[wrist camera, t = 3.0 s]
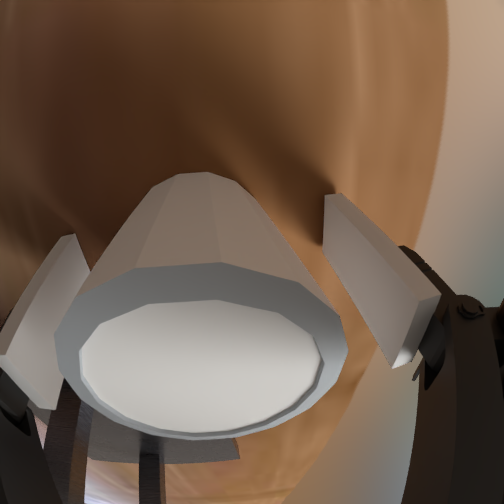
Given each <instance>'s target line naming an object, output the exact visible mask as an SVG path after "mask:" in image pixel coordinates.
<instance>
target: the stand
mask: <svg viewBox="0 0 504 504" xmlns="http://www.w3.org/2000/svg"><path fill="white" fill-rule="evenodd" d="M27 406H28V407H29V408H30V409H31V410H32V412H33V414H34V415H36V416H37V417H38V418H39V419H40V420H41V421H42V422H44V423H45V424H46V425H47V426H48V427H47V432H46V437H45V443H44V448H43V452H44V455H45V458H46V461H47V464H48V467H49V470H50V473H51V475H52V478H53V481H54V483H55V486H56V489H57V491H58V493H59V496H60V498H61V500H62V503H63V504H84V494H85V477H86V465H87V456H88V457H90V458H91V459H93V460H100V461H110V462H122V463H139V504H166V491H165V466H164V464H183V463H202V462H215V461H225V460H234V459H240V456H239V449H238V445H237V442H236V440H235V438H223V439H210V440H186V439H177V438H169V437H162V436H156V435H151V434H148V433H145V432H142V431H139V430H136V429H133V428H130V427H127V426H125V425H122V424H119V423H117V422H114V421H112V420H111V419H109V418H108V417H106V416H104V415H103V414H101V413H100V412H98V411H97V410H95V409H94V408H93V407H91V406H90V405H88V404H87V403H85V402H84V401H83V400H81V399H80V398H79V396H78V395H77V394H76V392H75V391H74V390H73V389H72V387H71V386H70V385H69V383H68V382H67V380H66V379H65V378H64V379H63V383H62V387H61V390H60V394H59V398H58V402H57V406H56V410H51V409H43V408H39V407H38V406H37V405H36V404H35V403H33V402H32V401H31V400H30V399H29V401H28V404H27Z"/></svg>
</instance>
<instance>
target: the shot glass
mask: <svg viewBox="0 0 504 504" xmlns="http://www.w3.org/2000/svg"><path fill="white" fill-rule="evenodd" d="M54 340H55V348H56V355H57V361H58V368H59V371H60V372H61V374H62V375H63V376H64V378H65V379H66V380H67V382H68V383H69V385H70V386H71V387H72V389H73V390H74V391H75V392H76V394H77V395H78V396H79V398H80V399H81V400H83V401H84V402H85V403H87V404H88V405H90V406H91V407H93V408H94V409H95V410H97V411H98V412H100V413H101V414H103V415H104V416H106V417H108V418H109V419H111V420H112V421H114V422H117V423H119V424H122V425H125V426H127V427H130V428H133V429H136V430H139V431H142V432H145V433H148V434H151V435H156V436H162V437H169V438H177V439H186V440H210V439H223V438H235V437H239V436H243V435H247V434H251V433H255V432H258V431H262V430H265V429H269V428H272V427H275V426H277V425H279V424H281V423H283V422H285V421H287V420H289V419H291V418H293V417H294V416H296V415H298V414H300V413H302V412H304V411H305V410H307V409H309V408H310V407H311V406H313V405H314V404H315V403H316V402H317V401H318V400H319V399H320V398H321V397H322V396H323V395H324V394H325V393H326V392H327V391H328V390H329V389H330V388H331V387H332V386H333V385H334V384H335V383H336V381H337V379H338V376H339V374H340V371H341V369H342V366H343V364H344V361H345V359H346V356H347V354H348V347H347V343H346V339H345V335H344V331H343V327H342V323H341V319H340V316H339V314H338V313H337V311H336V310H335V308H334V307H333V305H332V304H331V303H330V301H329V300H328V298H327V297H326V295H325V294H324V293H323V291H322V290H321V288H320V287H319V285H318V284H317V283H316V281H315V280H314V278H313V277H312V276H311V274H310V273H309V271H308V270H307V268H306V267H305V266H304V264H303V263H302V262H301V260H300V259H299V257H298V256H297V255H296V253H295V252H294V250H293V249H292V248H291V246H290V245H289V243H288V242H287V241H286V239H285V238H284V237H283V235H282V234H281V233H280V231H279V230H278V228H277V227H276V226H275V224H274V223H273V222H272V220H271V219H270V218H269V216H268V215H267V214H266V212H265V211H264V210H263V208H262V207H261V206H260V204H259V203H258V202H257V200H256V199H255V198H254V197H253V196H252V195H251V194H249V193H248V192H247V191H246V190H245V189H244V188H243V187H242V186H240V185H239V184H238V183H237V182H236V181H234V180H231V179H228V178H225V177H222V176H219V175H216V174H213V173H210V172H198V173H184V174H177V175H175V176H173V177H171V178H169V179H167V180H165V181H163V182H161V183H159V184H157V185H156V186H154V187H152V188H151V190H150V191H149V192H148V193H147V194H146V196H145V197H144V198H143V199H142V201H141V202H140V203H139V204H138V206H137V207H136V208H135V210H134V211H133V212H132V214H131V215H130V216H129V218H128V219H127V220H126V222H125V223H124V224H123V226H122V227H121V228H120V230H119V231H118V233H117V234H116V235H115V237H114V238H113V240H112V241H111V242H110V244H109V245H108V247H107V248H106V250H105V251H104V253H103V254H102V256H101V257H100V259H99V260H98V262H97V263H96V265H95V266H94V268H93V269H92V271H91V272H90V274H89V275H88V277H87V278H86V280H85V282H84V283H83V285H82V286H81V288H80V290H79V291H78V293H77V295H76V296H75V298H74V300H73V301H72V303H71V305H70V306H69V308H68V310H67V311H66V313H65V315H64V317H63V319H62V320H61V322H60V324H59V326H58V328H57V329H56V331H55V333H54Z"/></svg>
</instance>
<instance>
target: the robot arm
mask: <svg viewBox="0 0 504 504" xmlns="http://www.w3.org/2000/svg"><path fill="white" fill-rule="evenodd" d="M322 252H323V254H324V255H325V257H326V258H327V260H328V262H329V263H330V265H331V266H332V268H333V269H334V271H335V273H336V274H337V276H338V277H339V279H340V281H341V282H342V284H343V286H344V287H345V289H346V290H347V292H348V294H349V295H350V297H351V299H352V300H353V302H354V304H355V305H356V307H357V309H358V310H359V312H360V314H361V315H362V317H363V319H364V321H365V322H366V324H367V326H368V327H369V329H370V331H371V333H372V334H373V336H374V338H375V340H376V341H377V343H378V345H379V347H380V348H381V350H382V352H383V354H384V355H385V357H386V359H387V361H388V363H389V365H390V366H391V368H392V369H393V368H395V367H398V366H401V365H404V364H406V363H409V362H412V360H413V358H414V356H415V354H416V352H417V350H418V349H419V351H420V353H421V354H422V355H423V358H422V361H421V362H420V364H419V366H418V368H417V370H416V371H415V373H414V375H413V379H412V380H413V381H415V380H416V378H417V377H418V375H419V393H418V406H417V417H416V426H415V434H414V441H413V448H412V454H411V460H410V466H409V471H408V476H407V481H406V486H405V490H404V494H403V498H402V502H401V504H504V299H503V301H502V303H501V305H500V307H489V308H485V307H484V306H483V305H482V303H481V302H480V301H478V300H477V299H475V298H473V297H471V296H468V295H456V294H455V293H454V292H453V291H452V290H451V288H450V287H449V286H448V285H447V284H446V283H445V282H444V281H443V280H442V279H441V278H440V277H439V276H438V274H437V273H436V272H435V271H434V270H432V268H431V267H430V266H429V265H428V264H427V263H425V261H424V260H423V259H422V258H421V257H420V256H419V255H418V254H417V253H416V252H415V251H413V250H411V249H409V248H407V247H406V246H404V245H403V246H397V245H396V244H395V243H394V242H393V241H392V240H391V239H390V238H389V237H388V236H387V235H386V234H385V233H384V232H383V231H382V230H381V229H380V228H378V227H377V226H376V225H375V224H374V223H373V222H372V221H371V220H370V219H369V218H368V217H367V216H366V215H365V214H364V213H363V212H362V211H361V210H359V209H358V208H357V207H356V206H355V205H354V204H353V203H352V202H351V201H350V200H349V199H347V198H346V197H345V196H344V195H343V194H342V193H340V194H329V195H325V203H324V230H323V250H322ZM89 274H90V270H89V267H88V265H87V263H86V260H85V258H84V255H83V253H82V250H81V248H80V245H79V242H78V240H77V237H76V234H71V235H66V236H61V238H60V239H59V240H58V242H57V243H56V244H55V246H54V247H53V248H52V250H51V251H50V253H49V254H48V255H47V257H46V258H45V260H44V261H43V263H42V264H41V266H40V267H39V269H38V270H37V272H36V273H35V275H34V276H33V278H32V279H31V281H30V282H29V284H28V285H27V287H26V289H25V290H24V292H23V293H22V295H21V297H20V298H19V300H18V302H17V303H16V305H15V307H14V308H13V309H12V310H11V311H10V313H9V314H8V316H7V318H6V320H5V324H3V325H2V327H1V329H0V504H63V503H62V500H61V498H60V496H59V493H58V491H57V489H56V486H55V483H54V481H53V478H52V475H51V473H50V470H49V467H48V464H47V461H46V458H45V455H44V452H43V449H42V445H41V442H40V438H39V434H38V431H37V427H36V423H35V419H34V414H33V412H32V410H31V409H30V408H29V407H28V406H27V404H28V401H29V399H30V400H31V401H32V402H33V403H35V404H36V405H37V406H38V407H39V408H43V409H51V410H56V406H57V402H58V398H59V394H60V390H61V387H62V383H63V379H64V376H63V375H62V374H61V372H60V371H59V368H58V361H57V355H56V348H55V340H54V333H55V331H56V329H57V328H58V326H59V324H60V322H61V320H62V319H63V317H64V315H65V313H66V311H67V310H68V308H69V306H70V305H71V303H72V301H73V300H74V298H75V296H76V295H77V293H78V291H79V290H80V288H81V286H82V285H83V283H84V282H85V280H86V278H87V277H88V275H89Z"/></svg>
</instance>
